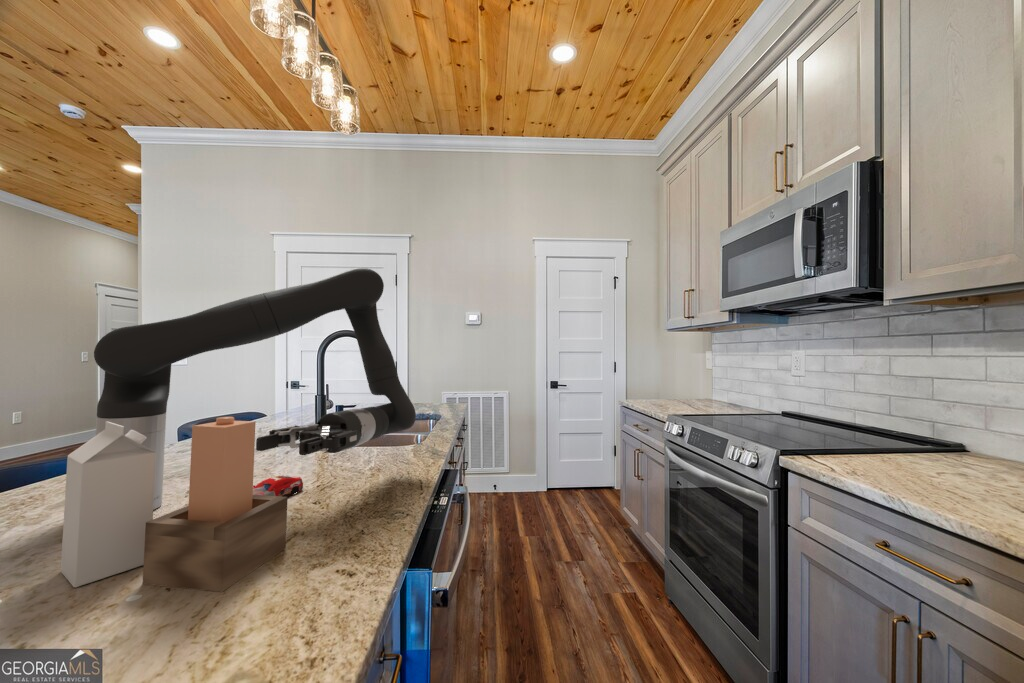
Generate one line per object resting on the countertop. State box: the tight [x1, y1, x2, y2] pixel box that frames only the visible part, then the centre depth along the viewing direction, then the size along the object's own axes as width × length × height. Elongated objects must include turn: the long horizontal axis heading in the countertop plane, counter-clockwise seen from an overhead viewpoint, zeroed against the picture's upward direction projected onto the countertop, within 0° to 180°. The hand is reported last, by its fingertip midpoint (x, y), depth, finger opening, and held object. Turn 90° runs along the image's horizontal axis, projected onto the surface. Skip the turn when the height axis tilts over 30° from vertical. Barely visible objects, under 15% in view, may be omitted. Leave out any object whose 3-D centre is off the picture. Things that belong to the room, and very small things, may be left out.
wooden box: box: [142, 495, 289, 593], centre depth 54 cm, size 11×11×8 cm
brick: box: [188, 416, 256, 522], centre depth 54 cm, size 5×5×14 cm
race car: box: [253, 475, 304, 497], centre depth 79 cm, size 13×5×4 cm, turn 161°
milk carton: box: [60, 421, 156, 588], centre depth 53 cm, size 7×7×19 cm
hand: (279, 446), depth 63 cm, fingers open, 8 cm apart
